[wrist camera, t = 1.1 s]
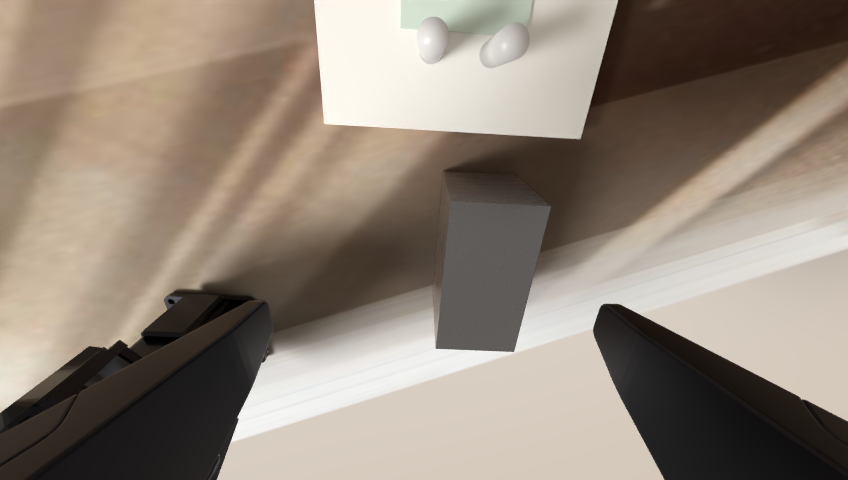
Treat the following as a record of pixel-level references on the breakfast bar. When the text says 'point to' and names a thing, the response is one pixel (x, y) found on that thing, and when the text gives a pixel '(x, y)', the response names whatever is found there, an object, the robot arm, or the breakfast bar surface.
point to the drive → (485, 259)
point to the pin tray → (462, 64)
